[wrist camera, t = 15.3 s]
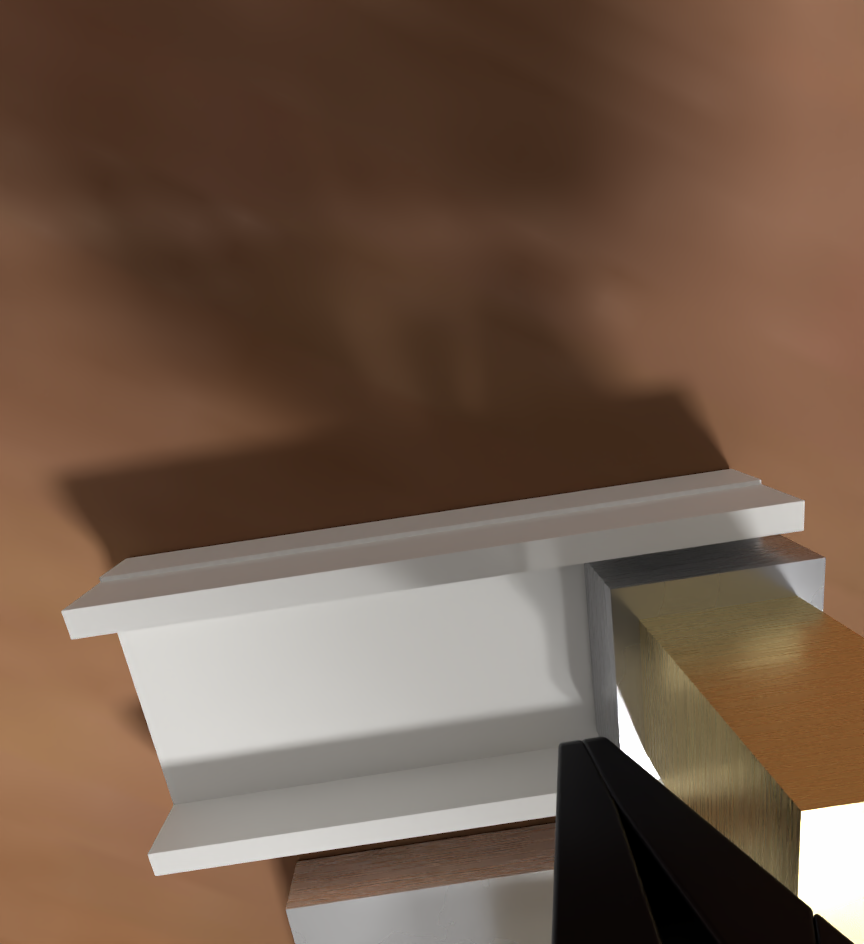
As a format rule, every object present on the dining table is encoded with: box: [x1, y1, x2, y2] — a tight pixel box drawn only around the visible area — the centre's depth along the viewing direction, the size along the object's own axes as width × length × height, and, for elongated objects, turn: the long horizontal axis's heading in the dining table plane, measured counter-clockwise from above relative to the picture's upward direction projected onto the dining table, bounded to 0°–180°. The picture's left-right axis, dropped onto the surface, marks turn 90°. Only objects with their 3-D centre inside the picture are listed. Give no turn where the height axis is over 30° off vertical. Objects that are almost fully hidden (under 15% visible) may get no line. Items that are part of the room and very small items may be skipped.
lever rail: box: [62, 469, 805, 876], centre depth 11 cm, size 7×14×2 cm, turn 98°
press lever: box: [584, 534, 864, 944], centre depth 8 cm, size 4×4×6 cm
